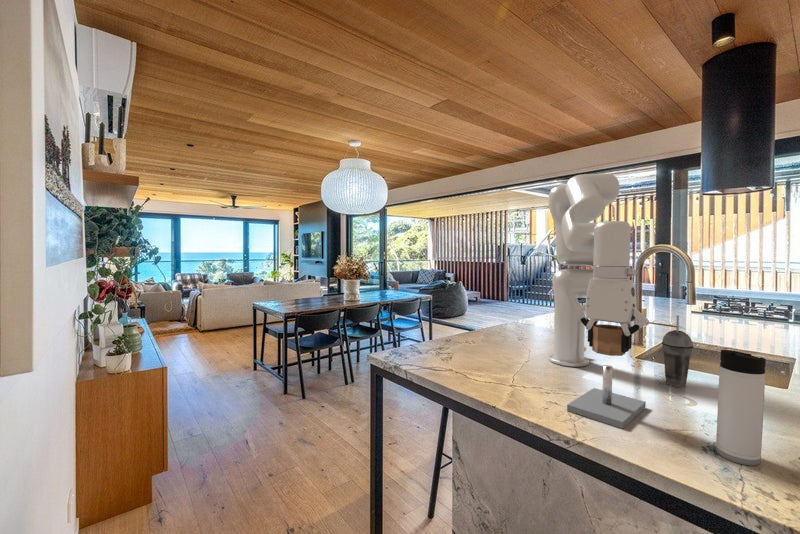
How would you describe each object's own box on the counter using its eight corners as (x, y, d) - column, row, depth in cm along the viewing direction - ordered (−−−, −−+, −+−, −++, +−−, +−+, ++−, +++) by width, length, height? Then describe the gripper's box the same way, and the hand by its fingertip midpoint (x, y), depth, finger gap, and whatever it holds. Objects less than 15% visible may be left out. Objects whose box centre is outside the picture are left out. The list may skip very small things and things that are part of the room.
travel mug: (705, 448, 73) (709, 347, 72) (736, 447, 74) (741, 346, 73) (736, 467, 67) (742, 356, 66) (770, 465, 67) (776, 355, 66)
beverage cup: (693, 384, 107) (696, 314, 106) (690, 391, 102) (693, 318, 101) (662, 378, 112) (664, 311, 111) (657, 385, 107) (660, 315, 106)
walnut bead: (599, 347, 94) (600, 323, 94) (628, 352, 90) (628, 327, 89) (588, 351, 90) (589, 326, 90) (618, 357, 85) (619, 331, 85)
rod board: (593, 393, 100) (593, 387, 100) (645, 407, 92) (645, 401, 91) (566, 410, 90) (567, 404, 90) (622, 428, 81) (622, 422, 81)
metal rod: (603, 400, 92) (605, 364, 92) (612, 403, 91) (613, 366, 90) (600, 403, 91) (601, 366, 90) (609, 405, 89) (610, 368, 89)
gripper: (658, 274, 85) (655, 353, 86) (580, 271, 98) (578, 339, 99) (648, 276, 80) (645, 359, 81) (567, 272, 93) (565, 344, 94)
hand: (608, 347), depth 90 cm, fingers closed on walnut bead, 6 cm apart
